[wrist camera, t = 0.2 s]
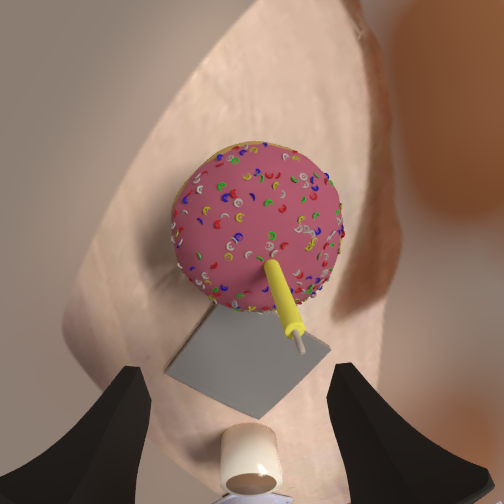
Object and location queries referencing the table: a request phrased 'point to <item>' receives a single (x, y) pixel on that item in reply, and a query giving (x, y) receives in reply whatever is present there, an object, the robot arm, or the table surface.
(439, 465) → the robot arm
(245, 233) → the cupcake
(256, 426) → the cup
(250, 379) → the coaster
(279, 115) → the table surface
